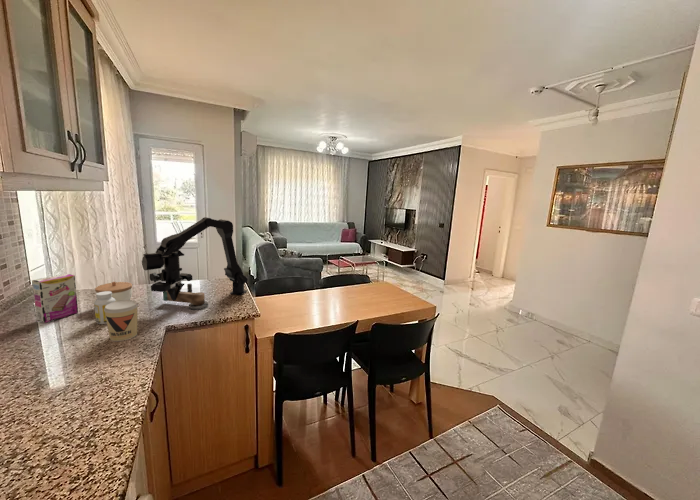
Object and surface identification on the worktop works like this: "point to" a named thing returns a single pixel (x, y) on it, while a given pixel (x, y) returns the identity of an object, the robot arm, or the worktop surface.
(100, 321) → the pill bottle
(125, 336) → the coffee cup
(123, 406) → the worktop surface
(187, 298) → the capstan lever
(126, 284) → the lidded bowl
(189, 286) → the dark grey pieces
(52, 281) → the candy bar box
